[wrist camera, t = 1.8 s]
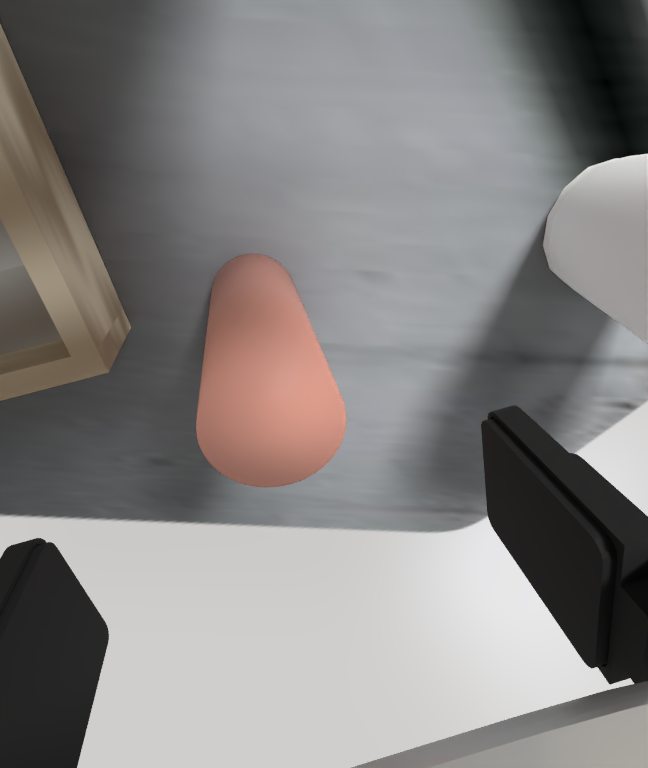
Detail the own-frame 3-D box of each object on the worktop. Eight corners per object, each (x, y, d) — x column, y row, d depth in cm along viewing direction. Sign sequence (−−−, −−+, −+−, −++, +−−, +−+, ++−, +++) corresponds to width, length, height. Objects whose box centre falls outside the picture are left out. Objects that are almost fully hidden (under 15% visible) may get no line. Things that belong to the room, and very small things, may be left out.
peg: (199, 265, 22) (173, 382, 12) (283, 244, 23) (330, 341, 12) (225, 343, 24) (222, 502, 14) (303, 323, 25) (357, 465, 14)
